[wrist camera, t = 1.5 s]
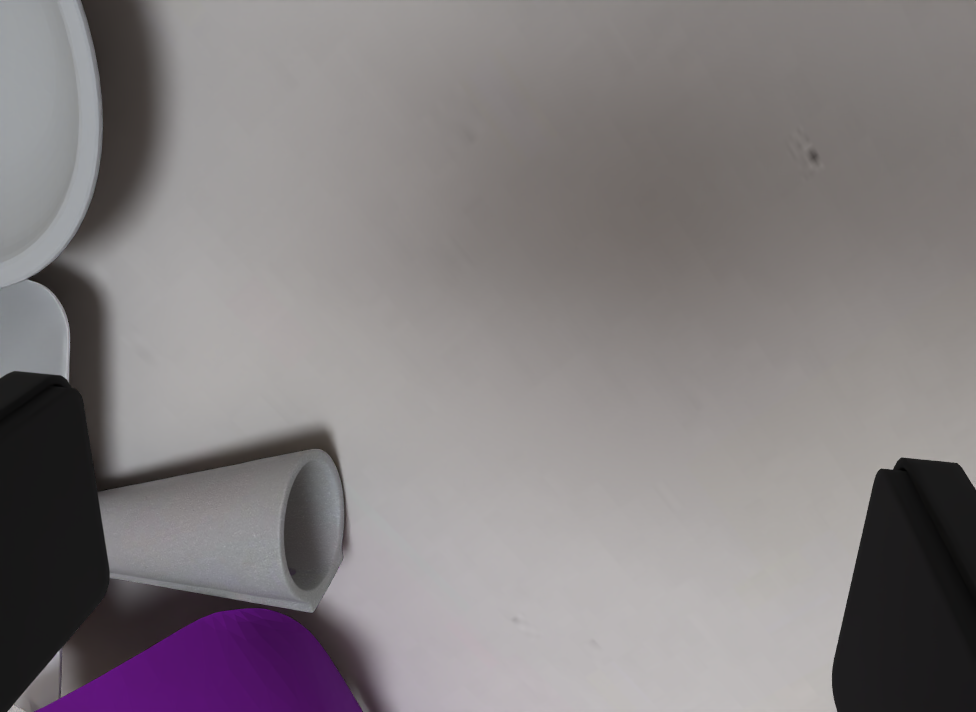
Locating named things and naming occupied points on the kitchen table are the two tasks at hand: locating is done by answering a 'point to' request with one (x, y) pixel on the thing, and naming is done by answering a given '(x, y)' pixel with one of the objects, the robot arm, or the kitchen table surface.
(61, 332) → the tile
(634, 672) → the kitchen table surface
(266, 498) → the grey hollow tube
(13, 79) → the dish
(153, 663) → the mask
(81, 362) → the kitchen table surface
